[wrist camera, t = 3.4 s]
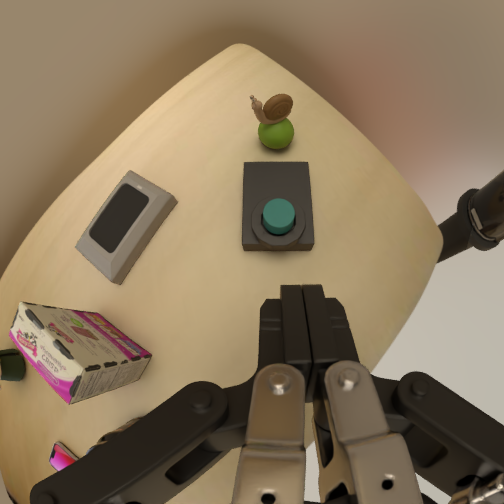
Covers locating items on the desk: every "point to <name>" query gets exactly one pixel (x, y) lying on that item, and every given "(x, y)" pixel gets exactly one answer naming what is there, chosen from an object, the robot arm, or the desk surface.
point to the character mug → (11, 365)
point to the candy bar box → (76, 350)
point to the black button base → (273, 187)
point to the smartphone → (61, 457)
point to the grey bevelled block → (125, 225)
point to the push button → (278, 216)
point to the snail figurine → (274, 121)
